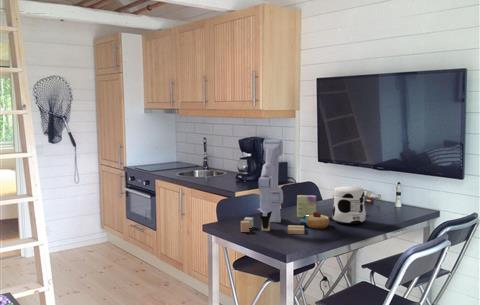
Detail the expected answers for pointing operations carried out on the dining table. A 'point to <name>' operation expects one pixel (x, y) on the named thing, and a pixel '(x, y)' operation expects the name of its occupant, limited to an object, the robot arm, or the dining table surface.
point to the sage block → (249, 221)
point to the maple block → (268, 227)
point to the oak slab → (295, 229)
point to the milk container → (349, 205)
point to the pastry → (317, 221)
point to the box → (306, 205)
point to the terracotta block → (244, 226)
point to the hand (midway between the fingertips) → (265, 227)
